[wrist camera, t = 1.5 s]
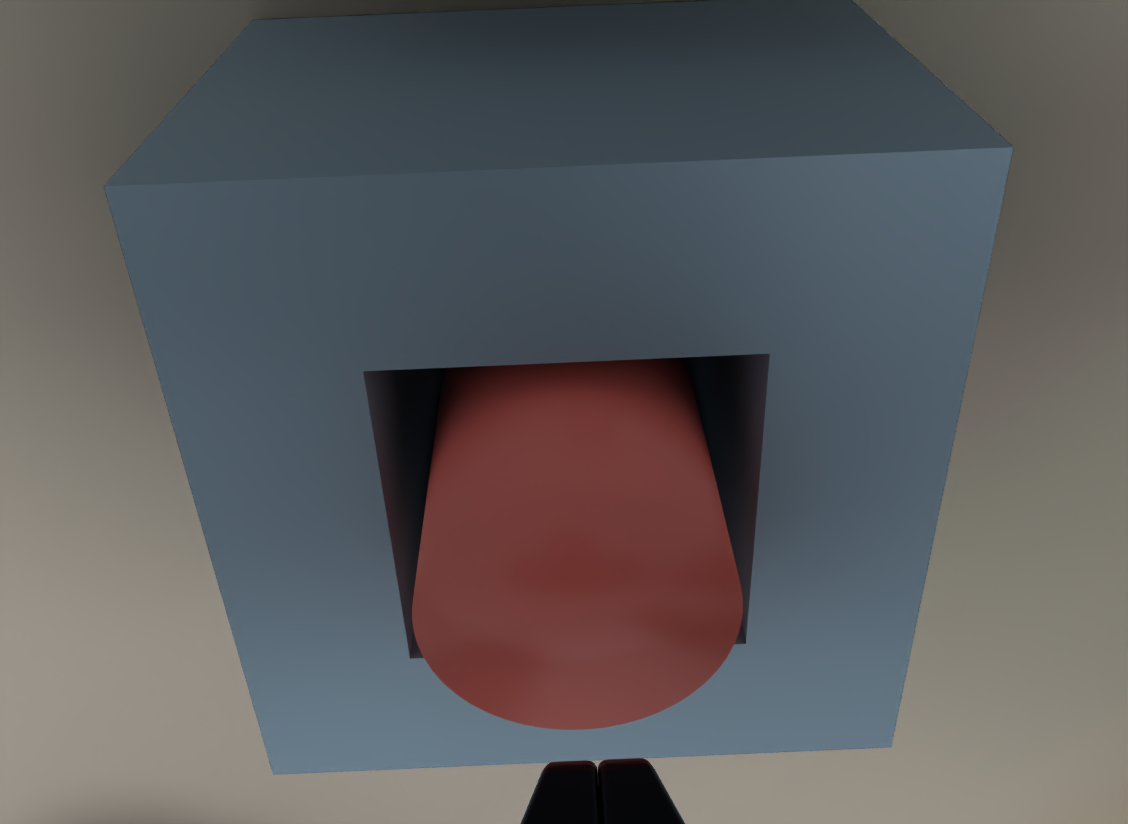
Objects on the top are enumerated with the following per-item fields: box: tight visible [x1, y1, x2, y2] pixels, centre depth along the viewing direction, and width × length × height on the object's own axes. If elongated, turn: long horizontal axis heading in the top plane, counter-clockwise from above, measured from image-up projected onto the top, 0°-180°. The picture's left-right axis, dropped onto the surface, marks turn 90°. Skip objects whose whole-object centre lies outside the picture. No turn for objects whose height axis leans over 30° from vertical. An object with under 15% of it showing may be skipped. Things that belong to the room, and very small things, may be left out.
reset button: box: [412, 357, 743, 730], centre depth 12 cm, size 3×3×5 cm
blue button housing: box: [104, 0, 1013, 775], centre depth 14 cm, size 8×8×6 cm
